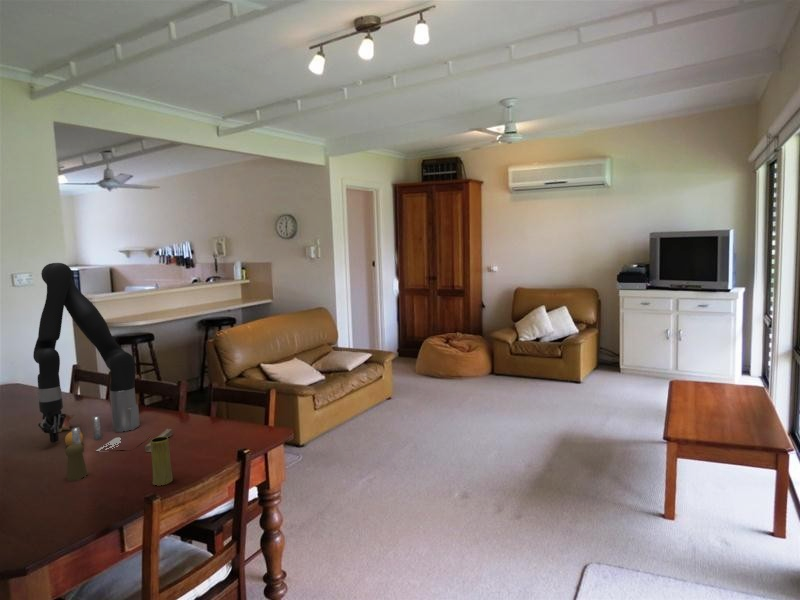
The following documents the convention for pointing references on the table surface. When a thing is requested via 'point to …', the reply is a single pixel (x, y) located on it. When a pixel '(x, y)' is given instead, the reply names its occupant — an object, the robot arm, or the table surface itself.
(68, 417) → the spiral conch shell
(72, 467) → the olive green pepper mill
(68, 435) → the ball
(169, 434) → the stopper wall
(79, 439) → the left post
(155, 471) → the vase
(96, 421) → the right post
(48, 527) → the table surface
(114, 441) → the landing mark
